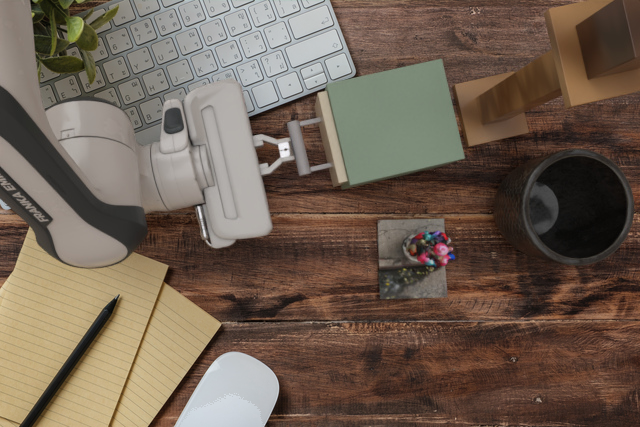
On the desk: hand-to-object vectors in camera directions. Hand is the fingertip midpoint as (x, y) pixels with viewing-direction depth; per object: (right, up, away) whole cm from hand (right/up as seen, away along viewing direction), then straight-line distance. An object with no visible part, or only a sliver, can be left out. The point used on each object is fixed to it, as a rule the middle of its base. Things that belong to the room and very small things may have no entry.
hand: (292, 149), depth 62 cm
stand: (+28, +7, +7) cm, 29 cm away
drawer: (+8, +2, +5) cm, 10 cm away
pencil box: (+29, +7, -19) cm, 35 cm away
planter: (+33, -8, +8) cm, 35 cm away
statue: (+16, -15, +7) cm, 23 cm away
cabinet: (+12, +3, +6) cm, 14 cm away
